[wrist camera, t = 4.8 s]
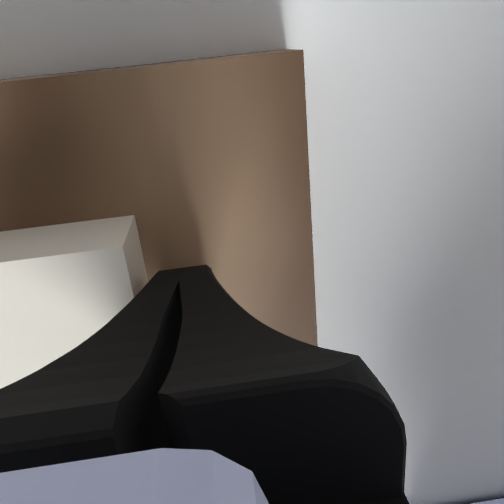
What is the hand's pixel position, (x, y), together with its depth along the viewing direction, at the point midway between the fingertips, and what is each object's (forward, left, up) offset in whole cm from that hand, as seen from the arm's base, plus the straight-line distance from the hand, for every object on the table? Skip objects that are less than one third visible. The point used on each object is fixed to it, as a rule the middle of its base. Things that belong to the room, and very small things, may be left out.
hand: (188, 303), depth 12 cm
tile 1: (+3, 0, -1) cm, 3 cm away
